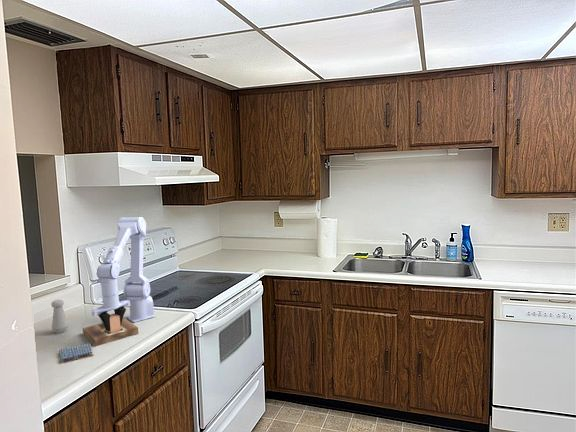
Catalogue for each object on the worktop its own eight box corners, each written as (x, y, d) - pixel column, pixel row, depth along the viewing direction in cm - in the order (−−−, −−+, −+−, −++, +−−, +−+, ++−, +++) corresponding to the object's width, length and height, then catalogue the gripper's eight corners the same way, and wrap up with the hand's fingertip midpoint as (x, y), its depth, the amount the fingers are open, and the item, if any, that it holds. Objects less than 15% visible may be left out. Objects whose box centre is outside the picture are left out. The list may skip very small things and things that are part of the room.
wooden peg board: (124, 323, 178) (123, 317, 178) (138, 333, 166) (138, 327, 166) (83, 334, 168) (82, 327, 168) (95, 346, 156) (95, 339, 156)
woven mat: (90, 346, 157) (90, 341, 157) (94, 357, 148) (94, 351, 148) (59, 354, 152) (58, 348, 151) (60, 365, 143) (60, 359, 142)
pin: (115, 330, 167) (114, 313, 166) (121, 332, 164) (119, 315, 164) (105, 333, 164) (104, 316, 163) (111, 336, 161) (109, 318, 160)
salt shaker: (71, 328, 175) (68, 297, 173) (64, 333, 169) (61, 302, 167) (56, 329, 175) (53, 298, 173) (49, 334, 169) (46, 303, 167)
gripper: (122, 287, 170) (125, 320, 172) (86, 297, 159) (90, 332, 161) (131, 290, 166) (134, 323, 167) (95, 300, 155) (99, 336, 156)
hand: (113, 328), depth 164 cm, fingers closed on pin, 4 cm apart
